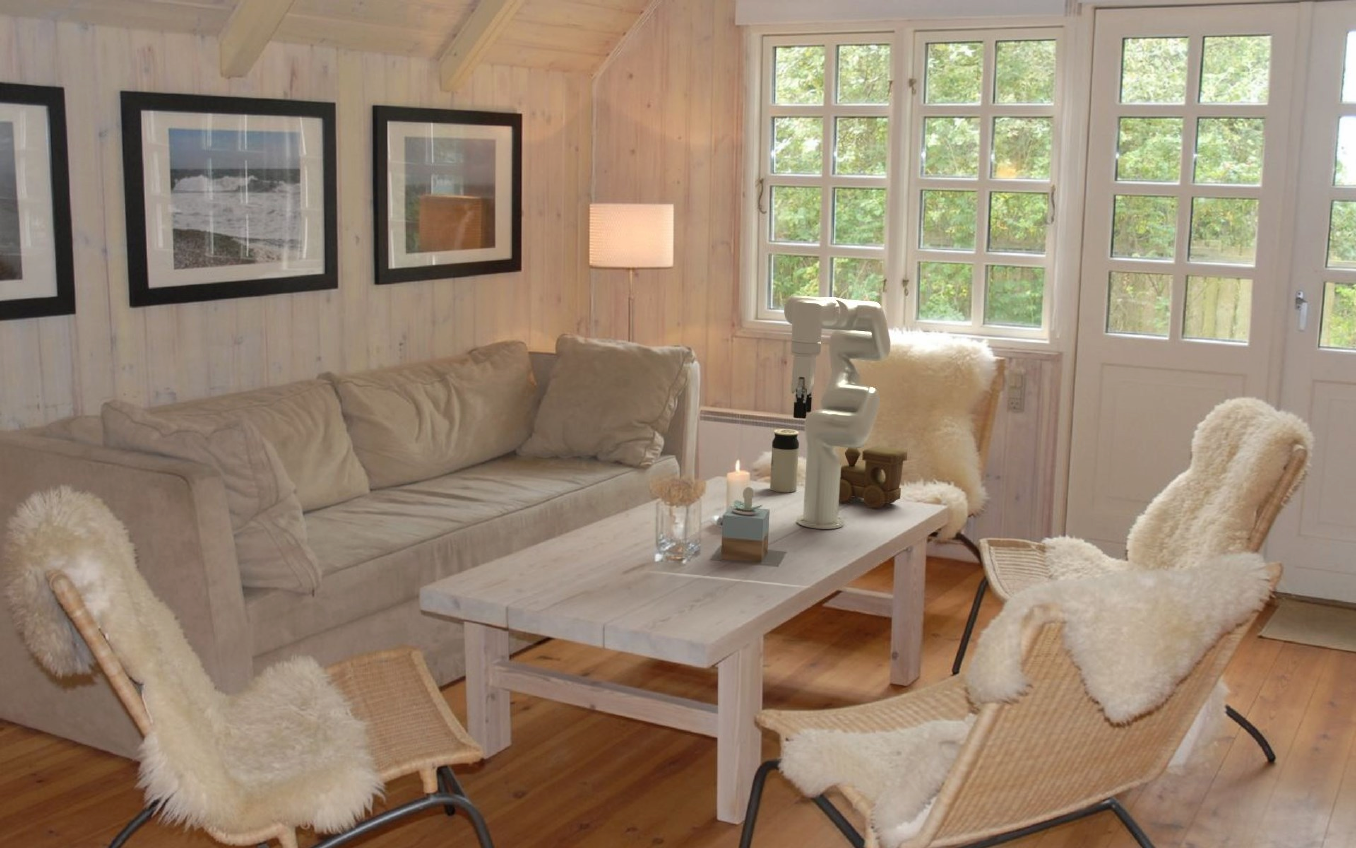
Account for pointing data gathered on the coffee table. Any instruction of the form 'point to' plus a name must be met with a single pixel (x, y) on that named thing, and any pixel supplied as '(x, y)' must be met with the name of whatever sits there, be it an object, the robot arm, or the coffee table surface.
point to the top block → (745, 524)
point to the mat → (769, 560)
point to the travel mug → (784, 461)
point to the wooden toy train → (872, 476)
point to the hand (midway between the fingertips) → (802, 414)
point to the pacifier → (746, 503)
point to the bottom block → (744, 549)
